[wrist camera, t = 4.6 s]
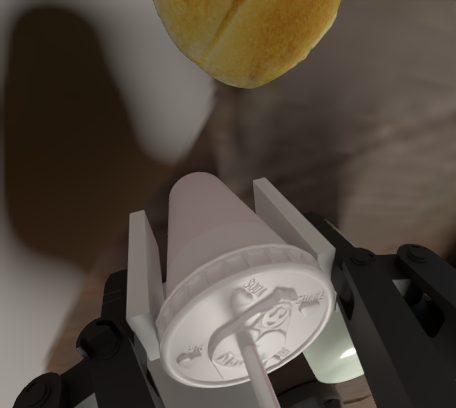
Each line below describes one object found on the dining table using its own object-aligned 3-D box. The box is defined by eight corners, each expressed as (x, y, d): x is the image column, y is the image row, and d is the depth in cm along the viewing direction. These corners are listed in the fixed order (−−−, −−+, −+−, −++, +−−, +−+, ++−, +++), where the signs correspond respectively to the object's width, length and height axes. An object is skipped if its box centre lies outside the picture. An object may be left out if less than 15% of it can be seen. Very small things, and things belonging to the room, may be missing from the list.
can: (124, 323, 22) (114, 552, 12) (162, 258, 19) (189, 477, 10) (200, 330, 25) (241, 510, 16) (241, 276, 23) (318, 448, 13)
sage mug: (335, 277, 28) (407, 361, 20) (266, 306, 27) (316, 406, 19) (338, 204, 22) (439, 284, 15) (251, 237, 21) (313, 341, 14)
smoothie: (130, 225, 16) (119, 657, 5) (171, 132, 14) (329, 503, 3) (217, 246, 19) (339, 541, 8) (262, 172, 17) (519, 427, 6)
